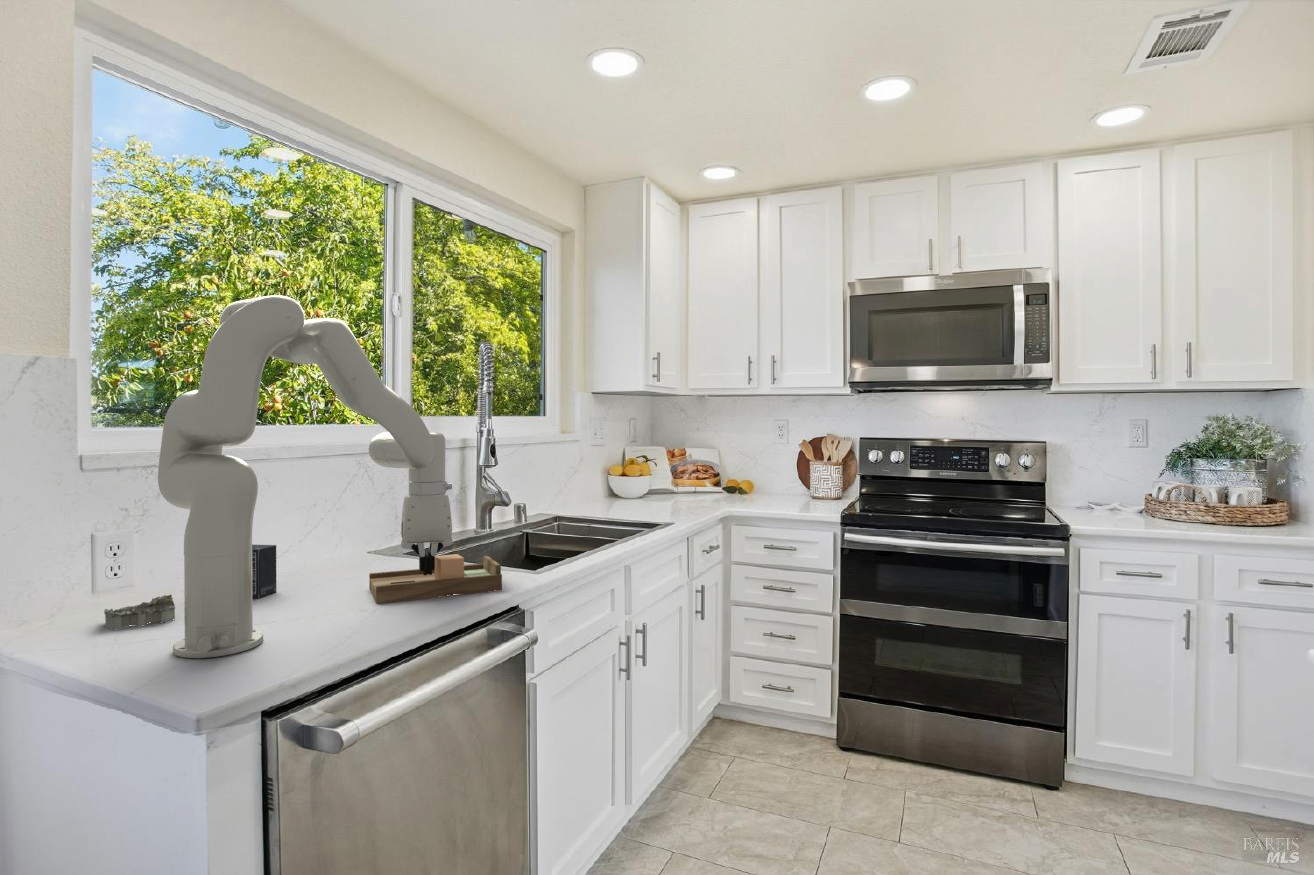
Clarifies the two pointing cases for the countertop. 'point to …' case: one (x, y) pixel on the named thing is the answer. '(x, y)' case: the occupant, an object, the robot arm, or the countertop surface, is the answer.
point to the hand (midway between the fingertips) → (426, 573)
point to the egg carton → (141, 613)
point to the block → (449, 567)
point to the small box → (263, 570)
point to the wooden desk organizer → (434, 583)
